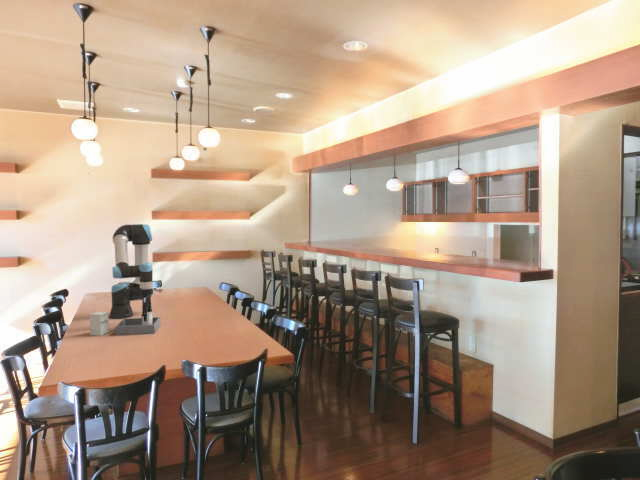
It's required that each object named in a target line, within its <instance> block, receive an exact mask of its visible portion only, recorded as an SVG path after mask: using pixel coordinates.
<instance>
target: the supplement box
mask: <svg viewBox="0 0 640 480" xmlns="http://www.w3.org/2000/svg"><path fill="white" fill-rule="evenodd" d="M109 327H110V326H109V312H108V311H96V312H93V313H90V314H89V336H96V337H97V336H100V337H101V336H102V335H105V334H109V333H110V329H109Z"/></svg>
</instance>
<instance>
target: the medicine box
mask: <svg viewBox="0 0 640 480" xmlns="http://www.w3.org/2000/svg"><path fill="white" fill-rule="evenodd" d="M141 318H142V325H143V316H141ZM148 325H153V312H151V313H148Z"/></svg>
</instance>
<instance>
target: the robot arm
mask: <svg viewBox="0 0 640 480" xmlns="http://www.w3.org/2000/svg"><path fill="white" fill-rule="evenodd" d="M152 241H153V234H152V230H151V226H150V225H149V224H143V223H142V224H141V223H140V224H139V223H137V224H123V225H121V226H119V227H118V228H117V229H116V230H115V231H114V233H113V235H112V243H113V244H114V258H115V259H114V260H115V261H114V262H115V265H114V266H113V267H112V278H113V279H131V278H134V280H133V281H132V283H130V282H129V281H128V282H127V281H126V282H125V281H123V282H119V283H116V284H112V286H111V291H110V292H111V308H110V312H109V314H108V317H109V319H113V320H114V319H115V320H117V319H129V318H131V317H134V311H133V309H132V305H131V302H133V301H142V303H141V305H142V307H141V311H142V312H141V317H142V316H143V325H148V313H153V308H152V300H151V299H152V296H153V295H154V281H153V264H152V263H151V262H149V252H148V250H149V249H148V248H149V247H148V246H149V245H151V242H152ZM129 242H131V244H132V246H134V265H129V252H128V251H129V250H128V243H129Z"/></svg>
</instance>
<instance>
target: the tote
mask: <svg viewBox="0 0 640 480" xmlns="http://www.w3.org/2000/svg"><path fill="white" fill-rule="evenodd" d="M161 320H162V319H161V316H158V317H157V316H156V317H155V316H154V317H153V325H142V317H138V318H135V317H133V318H131V317H130V318H122V320H121V321H119V323H118V324H117V325H116V326H114V335H115V336H117V337H118V336H131V335H133V336H134V335H150V334H152V335H153V334H156V333H157V331H158V329H159V328H160V326H161Z"/></svg>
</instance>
